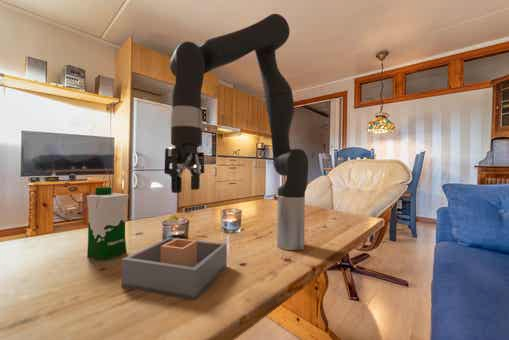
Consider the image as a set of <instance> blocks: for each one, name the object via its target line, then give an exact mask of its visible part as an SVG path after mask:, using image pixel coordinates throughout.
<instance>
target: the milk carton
mask: <svg viewBox="0 0 509 340" xmlns="http://www.w3.org/2000/svg"><path fill="white" fill-rule="evenodd" d="M94 190H95V193H94V194H88V195H86V201H87V209H88V218H87V219H88V223H87V224H88V226H87V227H88V228H87V230H88V231H87V232H88V233H87V258H90V259H95V260H100V261H103V262H104V261H107V260H110V259H112V258H116V257H118V256H121V255H122V254H126V253H127V242H126V241H127V240H126V213H127V212H126V208H127V204H128V200H129V196H130V195H129V194H126V193H116V192H112V187H109V186H108V187H107V186H103V187H101V186H99V187H95V189H94Z"/></svg>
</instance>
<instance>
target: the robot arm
mask: <svg viewBox="0 0 509 340" xmlns="http://www.w3.org/2000/svg"><path fill="white" fill-rule="evenodd" d="M290 31H291V30H290V25H289V23H288V21H287V19H286V18H285V17H284V16H283V15H281V14H279V13H271V14H269V15H268V16H266V17H265V18H263V19H260V21H258V22H256V23H253V24H251V25H249V26H247V27H244V28H241V29H239V30H236V31H232V32H230V33H229V32H228V33H227V34H226V33H225V34H223V35H219V36H216V37H215V36H214V37H213V38H209V39H207V40H205V41H204V42H203V43H201V45H197V44H196V43H195V42H192V41H183V42H181V43H180V44H178V46H177V47H176V48H175V50H174V52H173V55H172V56H171V58H170V62H169V68H170V72H171V73H172V75H173V76H174V77H175V80H174V81H175V82H174V85H173V88H172V94H171V95H172V97H171V98H172V99H171V101H172V102H171V108H172V109H171V116H170V144H171V145H172V146H174V147H165V149H164V151H165V152H164V171H163V172H164V174H165V175H168V176H170V179H171V180H170V182H171V183H170V184H171V185H170V187H171V188H170V189H171V193H173V194H181V192H182V191H183V190H182V188H183V187H182V186H183V185H182V183H183V182H182V180H183V179H182V178H183V177H182V175H183V173H184V170H188V171H189V172H190V189H191V190H192V191H193V190H194V191H195V190H196V191H198V190H200V187H201V186H200V181H201V180H200V178H201V177H200V176H202V174H204V173H205V153H204V151H198V148H199V147H202V146H203V117H202V116H203V115H202V90H203V89H202V88H203V83H204V77H205V74H206V73H208V72H210V71H212V70H214V69H217V68H221V67H223V66H226V65H229V64H232V63H233V62H236V61H237V60H239V59H241V58H244V57H245V56H247V55H248V54H251V53H252V52H255V56H256V60H257V63H258V67H259V71H260V76H261V82H262V88H263V93H264V100H265V107H266V111H267V112H266V113H267V116H268V123H269V129H270V130H269V132H270V136H271V147H272V148H271V150H272V160H273V161H272V163H273V167H274V170H275V171H276V173H278V175H279V176H283V177H284V176H285V178H286V179H285V183H284V184H283V185H281V186H279V187H278V188H277V212H276V213H277V214H276V215H277V218H276V219H277V222H276V223H277V225H276V226H277V227H276V231H277V232H276V233H277V235H276V245H277V247H278V248H280V249H283V250H285V251H300V250H301V251H304V250H305V240H306V239H305V233H306V231H305V230H306V228H305V227H306V218H305V216H306V215H305V213H306V212H305V207H306V206H305V204H306V203H305V200H306V190H307V189H308V188H307V187H308V179H309V158H308V155H307V153H306V152H305V151H304V150H303V149H301V148H292V149H291V146H290V139H289V135H290V129H291V125H292V121H293V118H294V114H295V103H294V96H293V90H292V87H291V85H290V84H289V82H288V81H287V79H286V78H285V77H284V75H282V73H281V72H280V70H279V67H278V65H277V58H276V51H277V50H278V49H280V48H281V47H282V46H283V45H284V44H285V43H286V42H287V40H288V39H289V37H290V33H291V32H290ZM170 165H171V166H170ZM170 167H171V168H170Z"/></svg>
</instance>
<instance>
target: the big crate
mask: <svg viewBox="0 0 509 340" xmlns="http://www.w3.org/2000/svg"><path fill="white" fill-rule="evenodd" d="M176 238H177V237H167V238H165V239H163V240H161V241H158V242H156V243H155V244H152V245H150V246H148V247H146V248H143V249H141V250H139V251H137V252H134V253H132V254H130V255H128V256H126V257H124V258H122V259H121V285H120V286H121V287H122V288H127V289H130V290H131V289H132V290H138V291H141V292H146V293H147V292H148V293H153V294H158V295H164V296H168V297H174V298H179V299H184V300H188V301H196V300H197V299H198V298H199V297H200V296H201V295H202V294H203V293H204V292H205V291H206V289H207V288H208V287H209V286H210V285H211V284H212V283H213V282H214V281H215V279H216V278H217V277H218V276H219V275H220V274H221V273H222V272H223V270H225V268H226V267H227V263H228V262H227V259H228V258H227V256H228V255H227V254H228V253H227V252H228V248H227V247H228V244H227V243H221V242H214V241H213V242H212V241H203V240H195V241H197V265H196V266H195V267H188V266H181V265H174V264H168V263H161V246H162V245H164V244H166V243H168V242H170V241H172V240H174V239H176ZM185 239H186V238H185ZM186 240H188V239H186Z"/></svg>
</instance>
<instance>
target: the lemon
mask: <svg viewBox="0 0 509 340" xmlns="http://www.w3.org/2000/svg"><path fill="white" fill-rule="evenodd" d="M171 219H180V218H179V216H176V215H175V214H173V215H172V216H170V217H169V218H167V220H171Z"/></svg>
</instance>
